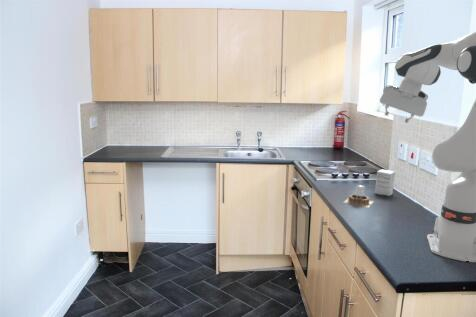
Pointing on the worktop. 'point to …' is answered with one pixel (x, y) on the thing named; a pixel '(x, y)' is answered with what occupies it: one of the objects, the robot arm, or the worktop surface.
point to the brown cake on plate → (359, 201)
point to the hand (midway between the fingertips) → (395, 118)
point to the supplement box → (384, 182)
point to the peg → (359, 192)
